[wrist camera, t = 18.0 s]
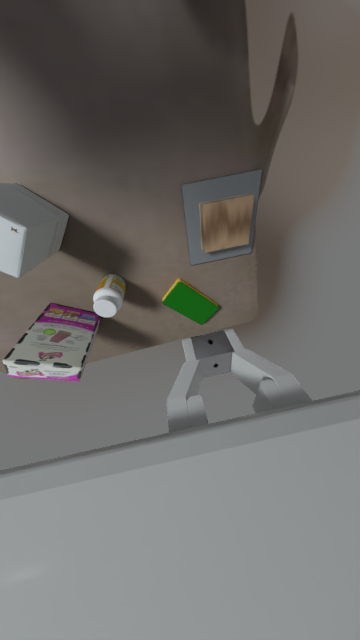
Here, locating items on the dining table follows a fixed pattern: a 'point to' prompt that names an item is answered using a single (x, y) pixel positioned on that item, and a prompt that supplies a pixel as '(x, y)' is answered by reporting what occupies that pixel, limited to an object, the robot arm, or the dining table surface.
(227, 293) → the dining table surface
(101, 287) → the supplement bottle
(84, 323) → the candy bar box
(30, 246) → the supplement box
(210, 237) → the slab
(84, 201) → the dining table surface
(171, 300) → the dish sponge
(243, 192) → the mat
